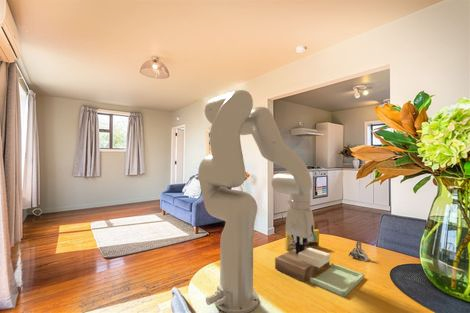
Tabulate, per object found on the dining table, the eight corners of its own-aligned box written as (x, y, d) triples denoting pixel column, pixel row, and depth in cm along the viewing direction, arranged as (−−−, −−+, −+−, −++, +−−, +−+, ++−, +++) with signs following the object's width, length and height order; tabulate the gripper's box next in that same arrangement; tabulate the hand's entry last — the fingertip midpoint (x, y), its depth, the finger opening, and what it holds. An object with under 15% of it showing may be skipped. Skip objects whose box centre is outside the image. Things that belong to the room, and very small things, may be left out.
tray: (344, 297, 66) (344, 292, 67) (309, 282, 75) (309, 277, 75) (364, 278, 77) (364, 274, 77) (332, 267, 85) (332, 263, 85)
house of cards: (336, 257, 95) (336, 239, 95) (350, 254, 99) (350, 236, 99) (357, 266, 87) (357, 246, 87) (371, 262, 91) (371, 243, 91)
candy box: (287, 251, 101) (287, 232, 101) (285, 249, 103) (285, 231, 103) (319, 248, 105) (319, 230, 105) (316, 246, 107) (316, 228, 107)
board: (304, 281, 75) (304, 269, 75) (275, 268, 84) (275, 257, 84) (329, 265, 87) (329, 254, 87) (301, 255, 96) (301, 245, 96)
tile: (319, 267, 77) (319, 260, 77) (298, 259, 82) (298, 253, 82) (329, 260, 82) (329, 253, 82) (309, 253, 88) (309, 247, 88)
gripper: (278, 203, 90) (278, 250, 90) (313, 209, 79) (313, 262, 79) (289, 201, 95) (289, 245, 95) (323, 206, 84) (323, 256, 84)
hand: (300, 253), depth 87 cm, fingers closed
